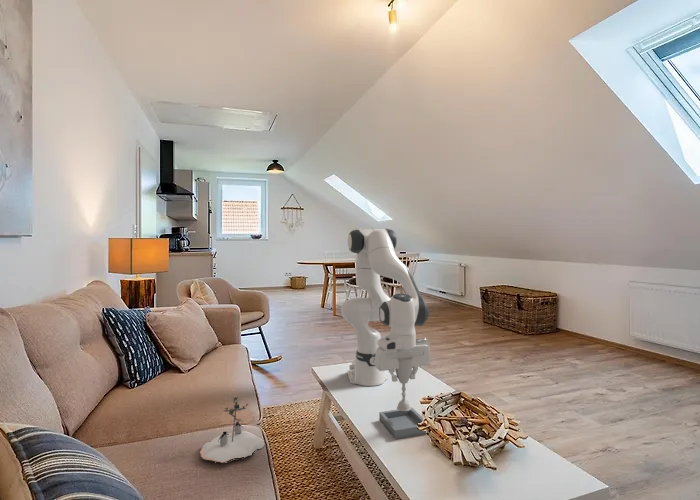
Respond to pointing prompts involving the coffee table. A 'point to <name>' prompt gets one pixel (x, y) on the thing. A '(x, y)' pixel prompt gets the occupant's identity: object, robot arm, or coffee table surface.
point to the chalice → (404, 381)
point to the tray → (401, 423)
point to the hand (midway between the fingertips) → (403, 379)
